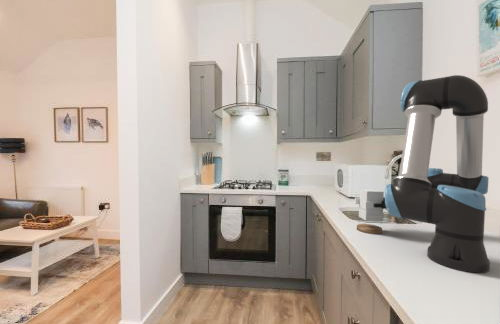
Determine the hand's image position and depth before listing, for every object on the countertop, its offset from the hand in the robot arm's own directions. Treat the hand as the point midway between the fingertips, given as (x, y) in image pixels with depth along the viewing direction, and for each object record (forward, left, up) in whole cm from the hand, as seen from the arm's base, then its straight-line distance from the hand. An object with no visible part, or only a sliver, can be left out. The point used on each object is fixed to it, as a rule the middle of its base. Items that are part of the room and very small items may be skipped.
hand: (360, 202), depth 110 cm
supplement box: (0, -5, -7) cm, 9 cm away
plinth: (0, -5, -12) cm, 13 cm away
